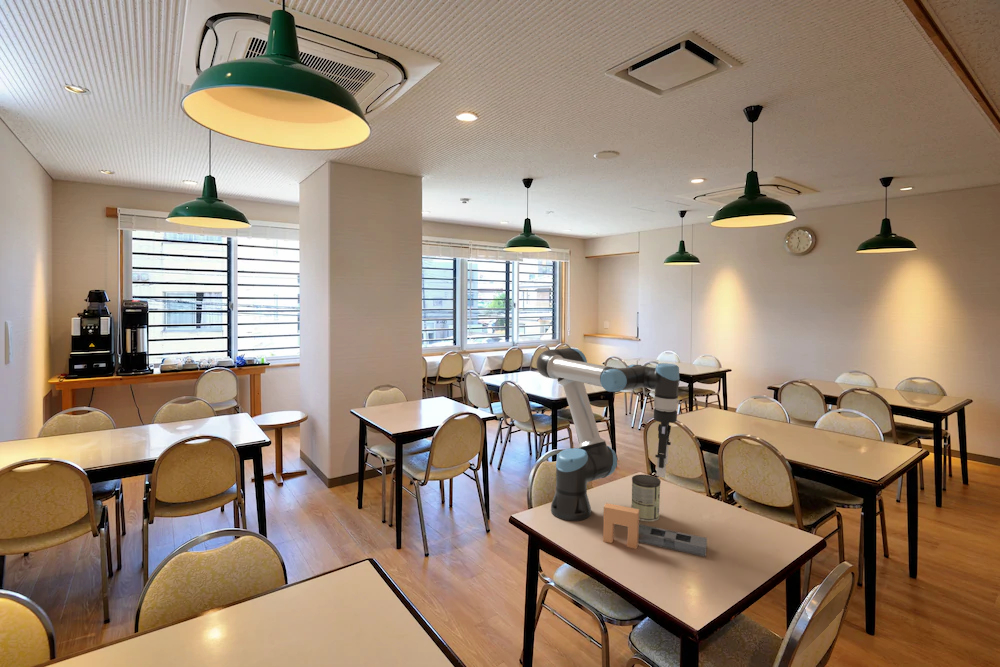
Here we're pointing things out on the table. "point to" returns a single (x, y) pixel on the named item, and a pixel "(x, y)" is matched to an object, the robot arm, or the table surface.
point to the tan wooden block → (621, 523)
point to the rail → (672, 540)
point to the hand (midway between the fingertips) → (662, 469)
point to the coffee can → (646, 496)
